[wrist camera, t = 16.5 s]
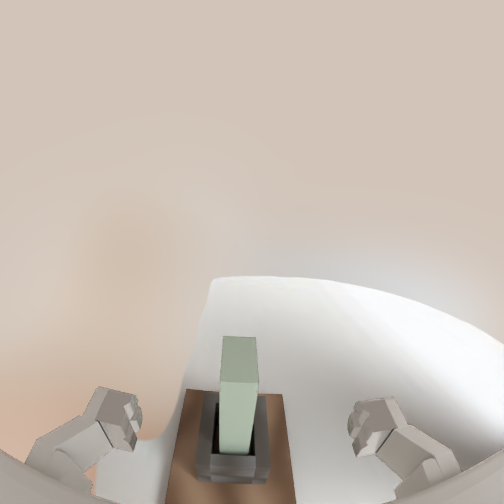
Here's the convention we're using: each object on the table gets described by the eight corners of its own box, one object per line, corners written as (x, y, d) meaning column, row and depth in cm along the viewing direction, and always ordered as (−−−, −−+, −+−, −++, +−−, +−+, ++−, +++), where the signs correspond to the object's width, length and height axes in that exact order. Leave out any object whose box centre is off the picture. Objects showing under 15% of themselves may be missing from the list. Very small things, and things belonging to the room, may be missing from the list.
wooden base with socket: (280, 399, 38) (287, 371, 36) (295, 518, 20) (308, 503, 18) (187, 393, 38) (184, 365, 36) (165, 512, 19) (155, 496, 17)
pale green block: (244, 430, 31) (255, 337, 26) (245, 468, 26) (259, 383, 20) (221, 429, 31) (223, 335, 26) (219, 467, 25) (219, 381, 20)
